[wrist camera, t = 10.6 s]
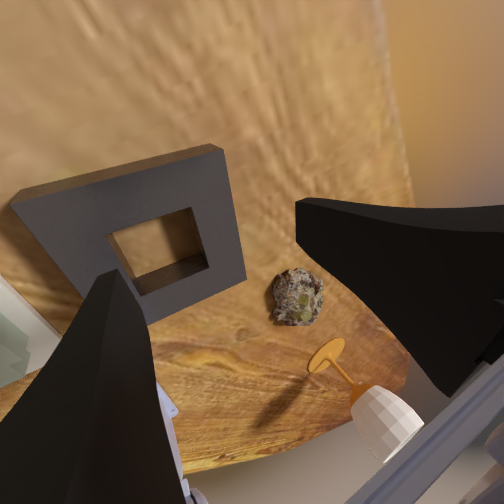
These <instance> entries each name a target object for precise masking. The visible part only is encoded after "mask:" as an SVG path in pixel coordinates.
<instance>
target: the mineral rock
mask: <svg viewBox="0 0 504 504" xmlns="http://www.w3.org/2000/svg"><path fill="white" fill-rule="evenodd" d="M322 284H323V280H322V279H320V278H319V277H317V276H316V275H314V274H313V273H311V272H308V271H305V269H302V268H297V269H296V270H295V271H293V270H290V269H289V270H287V272H286V273H285V274H279V275H277V279H276V283H275V284H274V285H273V289H272V293H273V297H274V299H275V300H276V306H275V309H274V310H273V317H274V318H276V319H277V321H282V320H284V323H285V325H287V326H296V325H297V326H302V325H304V326H309V325H311V324H312V323H314V321H316V319H318V318H317V316H318V314H319V312H320V311H321V310H322V309H321V306H322V302H323V296H322V295H321V291H323V290H324V286H322Z"/></svg>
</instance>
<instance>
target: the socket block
mask: <svg viewBox="0 0 504 504" xmlns="http://www.w3.org/2000/svg"><path fill="white" fill-rule="evenodd" d="M9 205H10V207H11V208H12V209H13V210H14V212H15V213H16V214H17V215H18V217H19V218H20V219H21V220H22V222H23V223H24V224H25V225H26V227H27V228H28V229H29V230H30V232H31V233H32V234H33V236H34V237H35V238H36V239H37V241H38V242H39V243H40V244H41V246H42V247H43V248H44V249H45V251H46V252H47V253H48V254H49V256H50V257H51V258H52V259H53V261H54V262H55V263H56V265H57V266H58V267H59V268H60V270H61V271H62V272H63V273H64V275H65V276H66V277H67V278H68V280H69V281H70V282H71V283H72V285H73V286H74V287H75V288H76V290H77V291H78V292H79V294H80V295H81V296H82V297H83V299H84V300H85V298H86V296H87V294H88V293H89V291H90V289H91V287H92V285H93V283H94V281H95V280H96V278H97V276H99V275H101V274H104V273H107V272H109V271H112V270H115V269H117V268H118V270H119V272H120V273H121V275H122V277H123V278H124V280H125V282H126V283H127V285H128V287H129V288H130V290H131V292H132V293H133V295H134V297H135V298H136V300H137V302H138V303H139V305H140V307H141V308H142V311H143V314H144V317H145V321H146V324H147V326H148V325H150V324H152V323H154V322H156V321H159V320H161V319H163V318H165V317H167V316H169V315H172V314H174V313H176V312H178V311H180V310H182V309H184V308H187V307H189V306H191V305H193V304H195V303H197V302H200V301H202V300H204V299H206V298H208V297H210V296H213V295H215V294H217V293H219V292H221V291H223V290H225V289H228V288H230V287H232V286H234V285H236V284H238V283H241V282H243V281H245V280H247V276H246V271H245V265H244V260H243V254H242V249H241V243H240V238H239V232H238V227H237V221H236V216H235V210H234V205H233V199H232V194H231V188H230V183H229V177H228V172H227V166H226V161H225V155H224V150H223V149H222V148H219V147H217V146H215V145H212V144H210V143H209V144H205V145H201V146H197V147H193V148H189V149H185V150H181V151H177V152H173V153H169V154H165V155H160V156H156V157H152V158H148V159H144V160H140V161H136V162H132V163H128V164H124V165H120V166H116V167H111V168H107V169H103V170H99V171H95V172H91V173H87V174H83V175H79V176H75V177H71V178H67V179H63V180H58V181H54V182H50V183H46V184H42V185H38V186H34V187H30V188H26V189H22V190H20V191H19V193H18V194H17V195H16V196H15V198H14V199H13V200H12V202H11V203H10V204H9ZM185 208H186V210H187V213H188V216H189V219H190V223H191V226H192V229H193V232H194V235H195V239H196V242H197V245H198V248H199V251H200V253H198V254H196V255H193V256H191V257H188V258H186V259H183V260H180V261H178V262H175V263H173V264H170V265H168V266H165V267H163V268H160V269H158V270H155V271H153V272H150V273H148V274H145V275H143V276H140V277H138V278H136V276H135V274H134V273H133V271H132V269H131V267H130V265H129V264H128V262H127V260H126V258H125V256H124V255H123V253H122V251H121V249H120V247H119V246H118V244H117V242H116V240H115V238H114V237H113V235H112V233H111V232H114V231H117V230H120V229H123V228H126V227H129V226H132V225H135V224H139V223H142V222H145V221H148V220H151V219H154V218H157V217H160V216H163V215H166V214H169V213H172V212H175V211H178V210H181V209H185Z"/></svg>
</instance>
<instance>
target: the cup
mask: <svg viewBox="0 0 504 504" xmlns="http://www.w3.org/2000/svg"><path fill="white" fill-rule="evenodd" d="M344 345H345V343H344V340H343V339H341V338H336V339H333V340H331V341H329V342H327V343H326V344H325V345H323V346H322V347H321V348H320V349H319V350H318V351H317V352H316V353H315V354H314V355H313V357H312V358H311V360H310V362H309V365H308V370H309V372H311V373H316V372H319V371H322V370H323V369H325V368H327V367H328V366H329V365H330V364H331V365H332V366H333V367H334V368H335V369H336V370H337V372H338V373H339V374H340V375H341V376H342V377H343V378H344V380H345V381H346V382H347V383H348V384H349V385H350V387H351V388H352V395H351V398H350V411H351V414H352V417H353V420H354V423H355V425H356V427H357V429H358V431H359V433H360V435H361V437H362V438H363V440H364V442H365V443H366V445H367V446H368V448H369V449H370V450H371V452H372V453H373V454H374V455H375V456H376V457H377V458H378V459H379V460H380V461H381V462H382V463H385V462H386V461H387V460H389V459H390V458H391V457H392V456H393V455H394V454H395V453H396V452H398V451H399V450H400V449H401V448H402V447H403V446H404V445H405V444H406V443H407V442H408V441H409V440H410V439H411V438H412V437H413V436H414V434H416V432H418V431H419V429H420V428H421V427H422V426H423V425H424V422H423V421H422V420H421V419H420V417H419V416H418V415H417V414H416V413H415V411H414V410H413V409H412V408H411V407H409V406H408V405H407V404H406V403H405V402H404V401H403V400H402V399H400V398H399V397H397V396H396V395H395V394H393V393H392V392H390V391H388V390H386V389H384V388H382V387H380V386H378V385H369V384H364V385H360V386H357V385H355V384H354V383H353V382H352V381H351V379H350V378H349V377H348V376H347V375H346V374H345V373H344V372H343V370H342V369H341V368H340V367H339V366H338V365H337V364H336V363H335V360H336V358H337V357H338V356H339V355H340V353H341V352H342V350H343V348H344Z"/></svg>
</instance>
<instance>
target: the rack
mask: <svg viewBox="0 0 504 504" xmlns="http://www.w3.org/2000/svg"><path fill="white" fill-rule="evenodd" d="M61 339H62V336H61V335H60V334H59V333H58V332H57V331H56V330H55V329H54V328H53V327H52V326H51V325H50V324H49V323H48V322H47V321H46V320H45V319H44V318H43V317H42V316H41V315H40V314H39V313H38V312H37V311H36V310H35V309H34V308H33V307H32V306H31V305H30V304H29V303H28V302H27V301H26V300H25V299H24V298H23V297H22V296H21V295H20V294H19V293H18V292H17V291H16V290H15V289H14V288H13V287H12V286H11V285H10V284H9V283H8V282H7V281H6V280H5V279H4V278H3V277H2V276H1V275H0V388H1V387H4V386H6V385H8V384H10V383H12V382H15V381H17V380H19V379H21V378H23V377H25V375H26V374H28V373H30V372H33V371H35V370H37V369H39V368H41V367H43V366H44V365H45V364H46V362H47V361H48V359H49V358H50V356H51V355H52V353H53V352H54V350H55V348H56V347H57V345H58V344H59V342H60V341H61Z"/></svg>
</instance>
